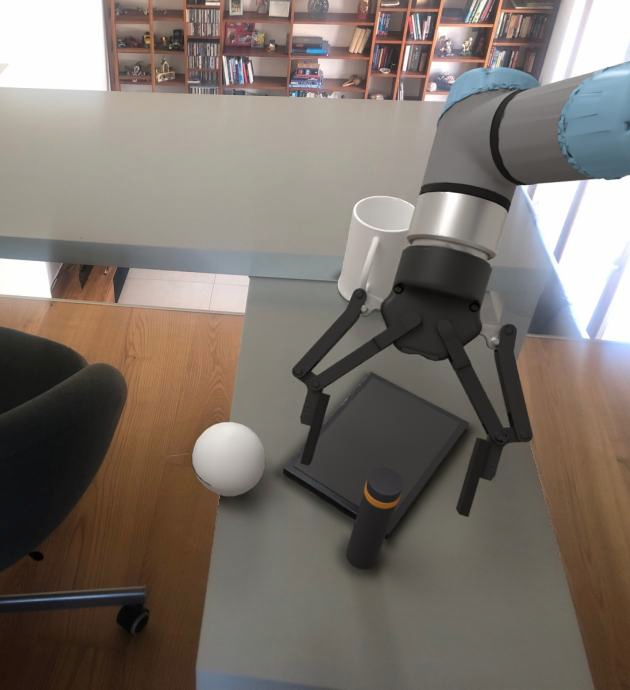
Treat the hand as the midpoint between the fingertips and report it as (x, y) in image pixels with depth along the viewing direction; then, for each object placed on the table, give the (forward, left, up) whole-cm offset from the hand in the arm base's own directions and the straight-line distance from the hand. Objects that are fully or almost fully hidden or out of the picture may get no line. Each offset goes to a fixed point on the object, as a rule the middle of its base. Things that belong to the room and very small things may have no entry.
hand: (381, 487), depth 61 cm
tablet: (+4, -10, -8) cm, 14 cm away
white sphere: (+15, +4, -8) cm, 18 cm away
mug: (+18, -32, -8) cm, 38 cm away
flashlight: (-1, +2, -8) cm, 8 cm away
